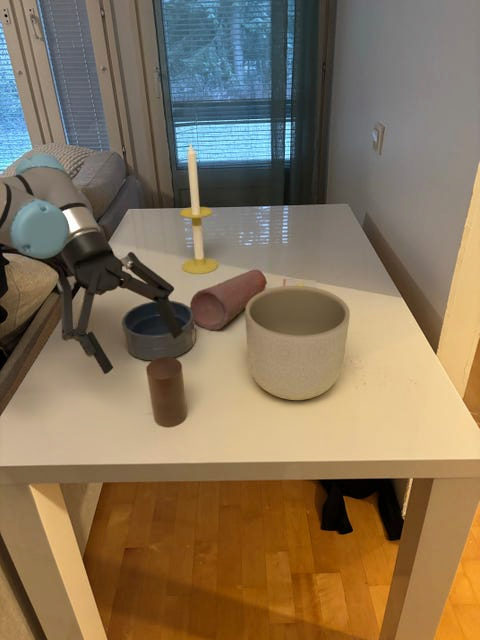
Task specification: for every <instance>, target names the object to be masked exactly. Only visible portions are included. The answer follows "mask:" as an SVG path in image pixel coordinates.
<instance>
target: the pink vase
mask: <svg viewBox="0 0 480 640" xmlns="http://www.w3.org/2000/svg"><path fill="white" fill-rule="evenodd" d="M267 284H268V282H267V278H266V276H265V275H264V273H263V272H262V271H261V270H259V269H252V270H248V271H246V272H243V273H241V274H238V275H236V276H234V277H231V278H229V279H227V280H225V281H223V282H220V283H217V284H215V285H213V286H210V287H206V288H203V289H201V290H198V291H197V292H196V293H195V294H193V296H192V298H191V300H190V303H189V305H190V306H189V307H190V309H191V310H192V311H193V315H194V323H197V324H198V326H200V327H201V328H204V329H207V330H209V331H217V330H220V329H221V330H222V328H224V327H225V326H226V325H228V323H229V322H231V321H232V320H233V319H234V318H235V317H236V316H238V315H240V313H241V312H243V310H244V309H246V305H247V303H248V302H249V300H250V299H251V298H252V297H254V296H255V295H257V294H258V293H260V292H263V291H265V290H266V289H265V288H266V285H267Z"/></svg>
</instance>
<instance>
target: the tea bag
mask: <svg viewBox="0 0 480 640" xmlns="http://www.w3.org/2000/svg"><path fill="white" fill-rule="evenodd" d="M282 284H283V285H282V286H307V287H313V288H317V280H316V279H315V280H314V279H300V278H299V279H297V278H283V283H282Z"/></svg>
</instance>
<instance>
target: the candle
mask: <svg viewBox="0 0 480 640" xmlns="http://www.w3.org/2000/svg"><path fill="white" fill-rule="evenodd" d="M186 157H187V168H188V169H187V171H188V182H189V194H190V203H191V204H190V206H191V207H185V208H182V209H181V210H180V211H179V216H180V217H182V218H185V219H191V227H192V236H193V237H192V238H193V239H192V240H193V249H194V250H193V252H194V258H191V259H188V260H186V261H184V262H183V263H182V264H181V269H182V271H184V272H185V273H188V274H193V275H202V274H204V275H205V274H208V273H212V272H214V271H215V270H217V268H218V267H219V264H218V262H217V261H216V260H215V259H212V258H208V257H205V253H204V252H205V251H204V239H203V238H204V237H203V225H202V218H206V217H210V216H211V215H212V214H213V209H212V208H210V207H207V206H200V194H199V193H200V192H199V179H198V167H197V153H196V151H195V150H194V148H193V145H192V142H191V141H190V144H189V148H188V151H187V153H186Z"/></svg>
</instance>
